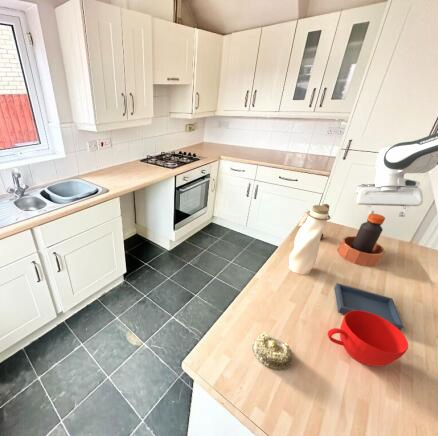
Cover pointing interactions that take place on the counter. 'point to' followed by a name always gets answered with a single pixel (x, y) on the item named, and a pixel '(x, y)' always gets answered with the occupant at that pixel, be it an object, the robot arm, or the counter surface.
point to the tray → (367, 304)
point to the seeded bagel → (272, 352)
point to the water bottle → (308, 239)
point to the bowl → (360, 253)
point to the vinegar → (368, 233)
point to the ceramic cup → (370, 338)
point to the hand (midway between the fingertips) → (386, 215)
